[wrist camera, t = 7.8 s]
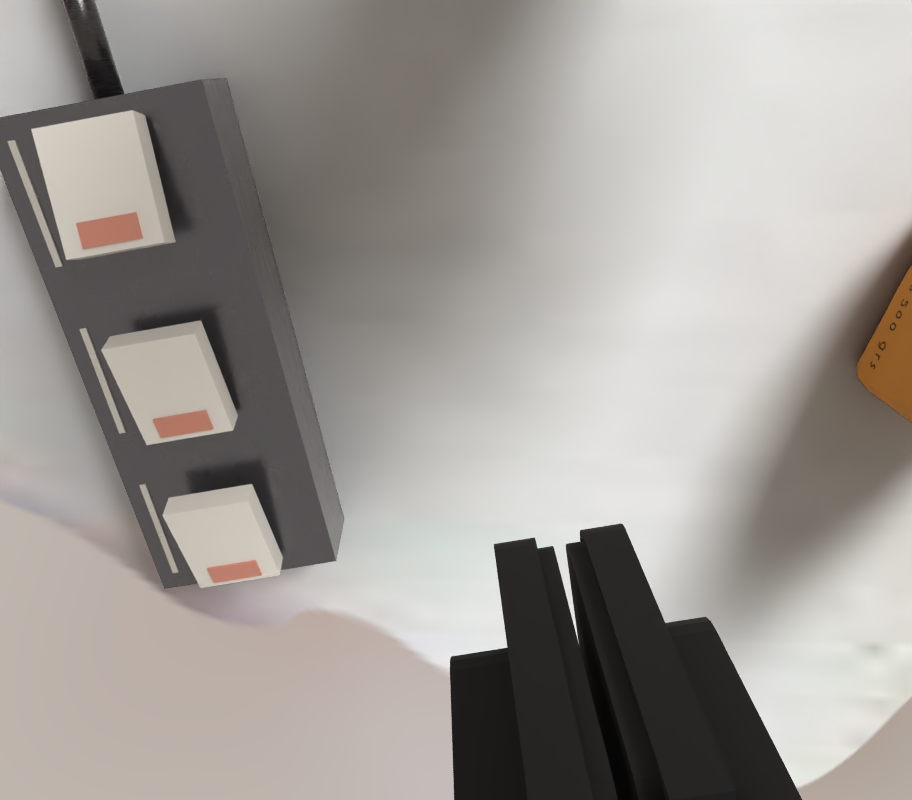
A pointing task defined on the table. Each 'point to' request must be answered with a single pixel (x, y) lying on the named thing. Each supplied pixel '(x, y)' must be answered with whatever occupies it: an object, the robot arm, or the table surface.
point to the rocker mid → (171, 382)
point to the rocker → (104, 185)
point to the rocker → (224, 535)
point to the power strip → (186, 311)
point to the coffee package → (892, 353)
